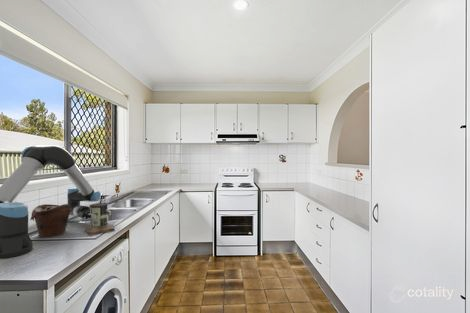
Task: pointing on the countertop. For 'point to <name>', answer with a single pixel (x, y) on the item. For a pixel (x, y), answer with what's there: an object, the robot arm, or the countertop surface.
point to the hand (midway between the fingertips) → (102, 215)
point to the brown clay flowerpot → (51, 219)
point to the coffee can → (98, 214)
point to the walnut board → (99, 229)
